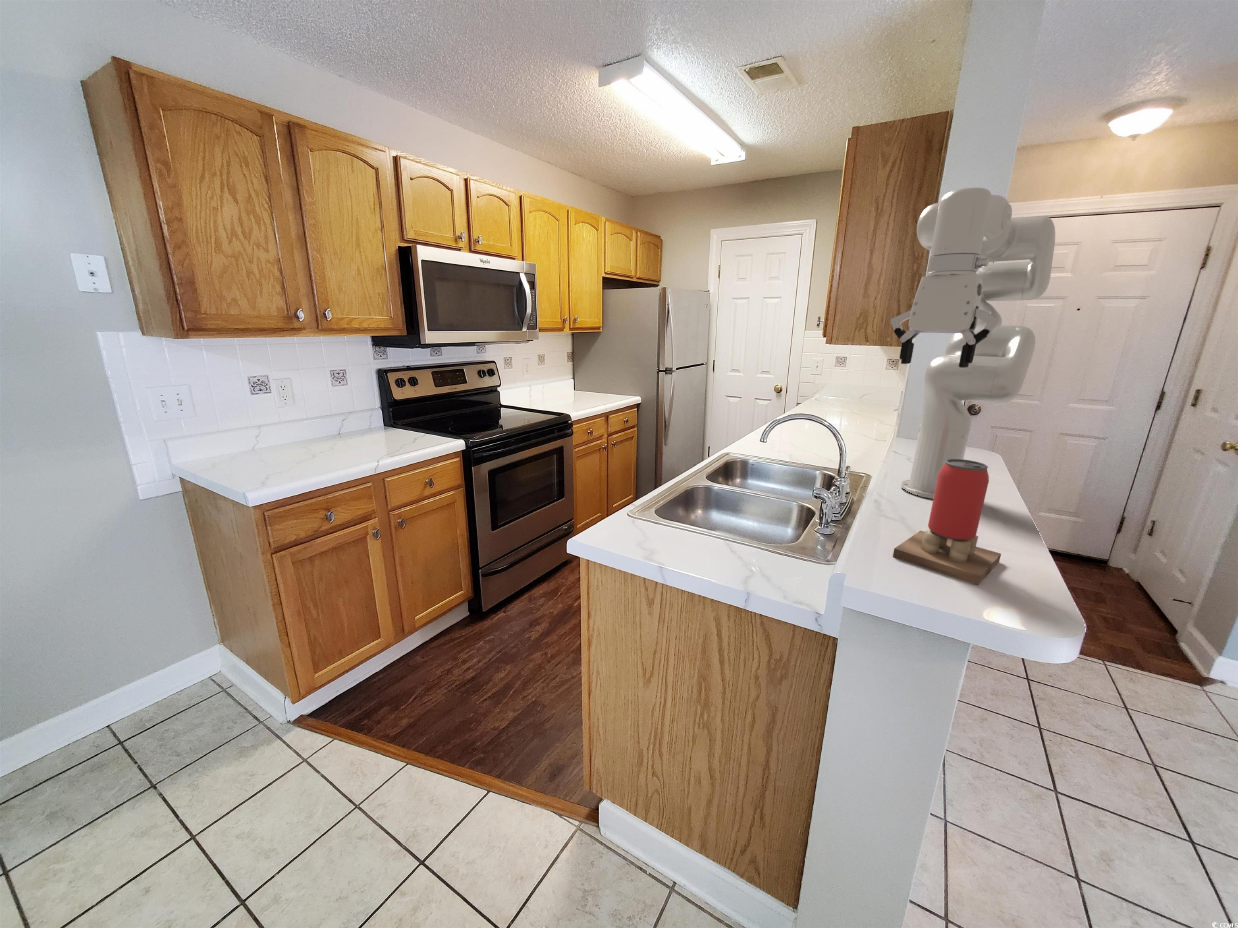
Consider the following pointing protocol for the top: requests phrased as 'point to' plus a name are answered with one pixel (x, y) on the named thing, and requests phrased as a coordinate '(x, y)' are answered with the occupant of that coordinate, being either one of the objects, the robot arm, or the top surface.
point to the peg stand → (948, 556)
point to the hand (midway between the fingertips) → (933, 365)
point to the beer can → (959, 499)
